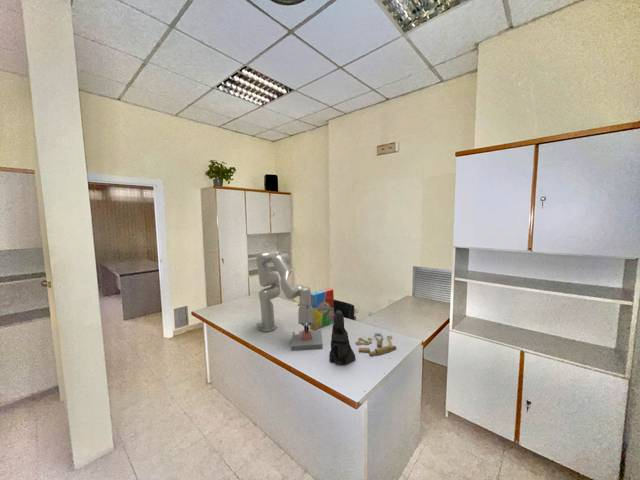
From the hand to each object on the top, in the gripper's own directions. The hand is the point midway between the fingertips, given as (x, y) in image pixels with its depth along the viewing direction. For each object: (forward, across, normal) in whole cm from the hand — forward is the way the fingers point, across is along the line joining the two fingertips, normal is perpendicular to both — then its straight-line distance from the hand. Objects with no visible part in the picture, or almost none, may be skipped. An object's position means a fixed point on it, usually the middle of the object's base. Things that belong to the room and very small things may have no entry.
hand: (306, 331), depth 172 cm
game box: (+8, +12, +25) cm, 29 cm away
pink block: (+7, 0, 0) cm, 7 cm away
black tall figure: (+8, +20, -23) cm, 31 cm away
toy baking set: (+8, +46, -8) cm, 47 cm away
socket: (+7, 0, 0) cm, 7 cm away
